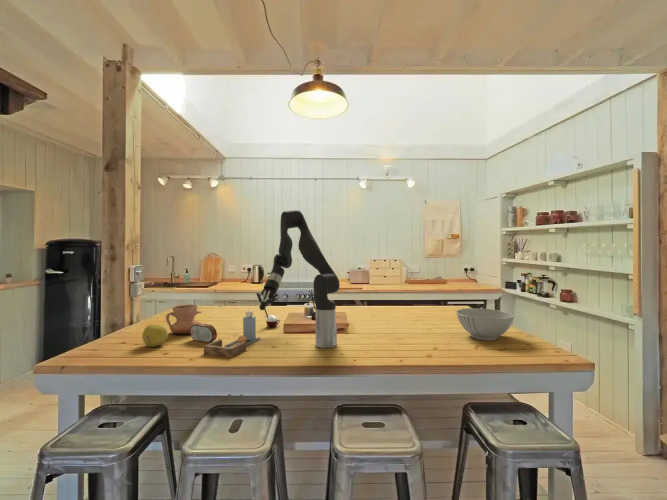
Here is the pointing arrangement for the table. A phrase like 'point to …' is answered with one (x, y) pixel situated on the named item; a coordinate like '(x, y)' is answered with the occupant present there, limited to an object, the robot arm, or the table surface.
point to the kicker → (249, 326)
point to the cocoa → (271, 320)
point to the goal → (223, 349)
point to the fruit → (154, 335)
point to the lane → (246, 343)
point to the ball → (241, 339)
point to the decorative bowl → (484, 322)
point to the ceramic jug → (183, 318)
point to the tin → (203, 332)
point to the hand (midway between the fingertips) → (261, 309)
